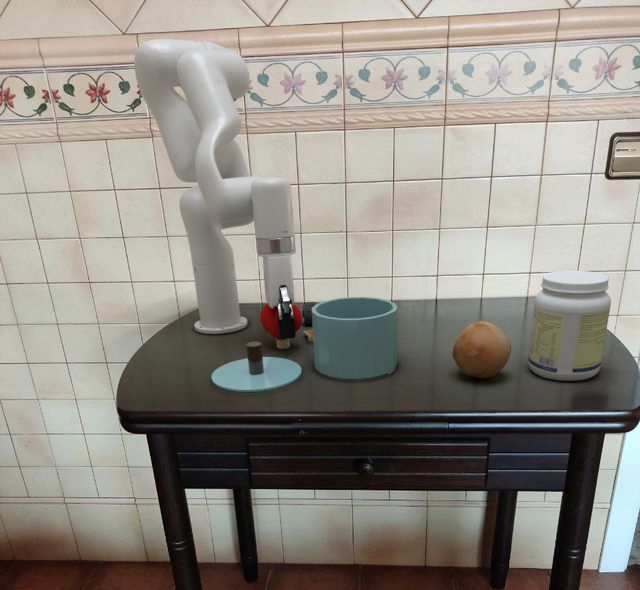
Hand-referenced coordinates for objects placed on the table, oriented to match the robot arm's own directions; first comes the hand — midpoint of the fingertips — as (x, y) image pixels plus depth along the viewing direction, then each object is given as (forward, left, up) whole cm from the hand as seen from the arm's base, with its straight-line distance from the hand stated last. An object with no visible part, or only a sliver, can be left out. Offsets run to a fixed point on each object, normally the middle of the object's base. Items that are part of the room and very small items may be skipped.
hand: (284, 331), depth 123 cm
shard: (-5, +11, -4) cm, 12 cm away
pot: (+13, +12, -4) cm, 18 cm away
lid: (+13, -7, -4) cm, 16 cm away
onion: (+25, +32, -4) cm, 41 cm away
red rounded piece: (-1, 0, -4) cm, 4 cm away
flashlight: (-17, +15, -4) cm, 23 cm away
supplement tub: (+27, +47, -4) cm, 54 cm away
